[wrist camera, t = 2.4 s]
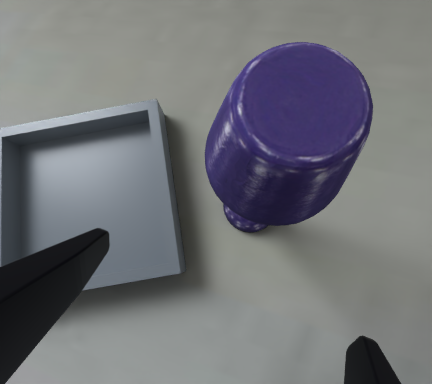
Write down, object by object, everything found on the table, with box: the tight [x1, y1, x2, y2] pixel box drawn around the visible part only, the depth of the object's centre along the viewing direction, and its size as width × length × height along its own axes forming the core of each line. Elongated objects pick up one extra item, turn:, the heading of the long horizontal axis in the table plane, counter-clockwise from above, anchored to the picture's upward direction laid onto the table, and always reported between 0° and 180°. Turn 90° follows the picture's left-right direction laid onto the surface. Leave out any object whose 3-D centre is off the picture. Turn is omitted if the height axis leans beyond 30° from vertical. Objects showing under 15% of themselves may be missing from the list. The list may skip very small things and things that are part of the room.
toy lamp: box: [205, 42, 373, 232], centre depth 13 cm, size 5×5×17 cm
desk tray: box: [0, 99, 186, 290], centre depth 21 cm, size 14×14×2 cm
